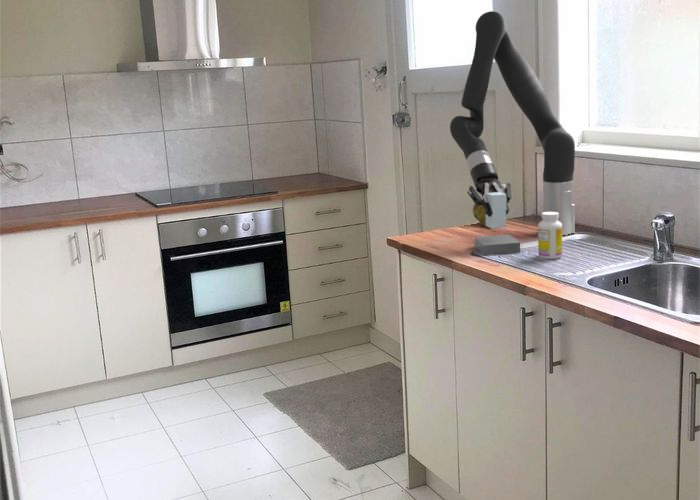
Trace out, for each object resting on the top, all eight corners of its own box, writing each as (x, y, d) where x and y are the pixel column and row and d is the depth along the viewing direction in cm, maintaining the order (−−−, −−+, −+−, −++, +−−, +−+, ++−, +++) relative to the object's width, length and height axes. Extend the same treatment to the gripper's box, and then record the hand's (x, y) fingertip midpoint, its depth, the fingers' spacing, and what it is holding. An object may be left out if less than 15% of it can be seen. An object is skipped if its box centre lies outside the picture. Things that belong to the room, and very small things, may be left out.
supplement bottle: (560, 253, 227) (560, 210, 224) (563, 259, 220) (564, 215, 217) (536, 254, 227) (536, 211, 224) (539, 260, 221) (539, 215, 218)
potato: (481, 229, 263) (480, 206, 261) (470, 222, 276) (470, 200, 274) (505, 227, 264) (504, 204, 262) (493, 220, 277) (493, 198, 275)
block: (499, 224, 237) (499, 191, 234) (506, 227, 232) (506, 194, 230) (485, 225, 236) (485, 193, 233) (492, 228, 231) (492, 195, 229)
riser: (509, 244, 241) (509, 234, 241) (520, 252, 231) (520, 242, 230) (474, 246, 241) (474, 237, 240) (483, 255, 230) (483, 245, 229)
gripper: (463, 163, 235) (480, 209, 226) (506, 159, 238) (525, 205, 230) (456, 178, 241) (472, 223, 233) (499, 174, 244) (516, 219, 236)
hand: (498, 214), depth 231 cm, fingers closed on block, 4 cm apart
